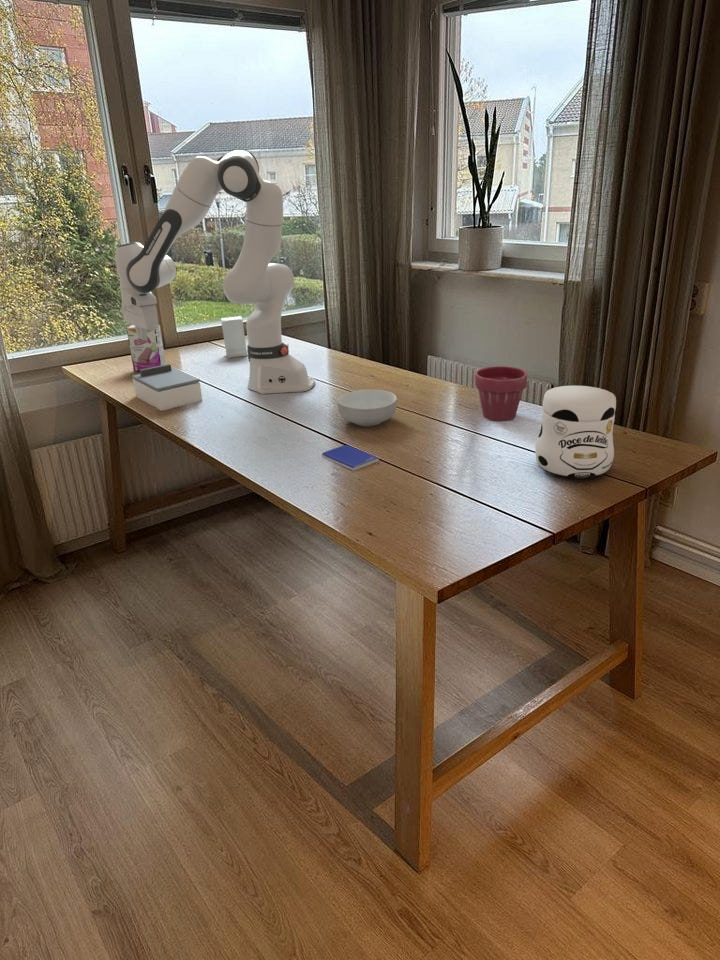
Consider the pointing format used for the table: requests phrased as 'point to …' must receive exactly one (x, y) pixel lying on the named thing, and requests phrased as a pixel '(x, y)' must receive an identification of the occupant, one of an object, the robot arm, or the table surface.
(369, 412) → the cereal bowl
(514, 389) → the plant pot
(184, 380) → the grey flat rectangular panel
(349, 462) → the blue book
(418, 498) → the table surface
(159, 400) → the base
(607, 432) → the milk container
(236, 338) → the skincare box
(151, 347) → the candy bar box
